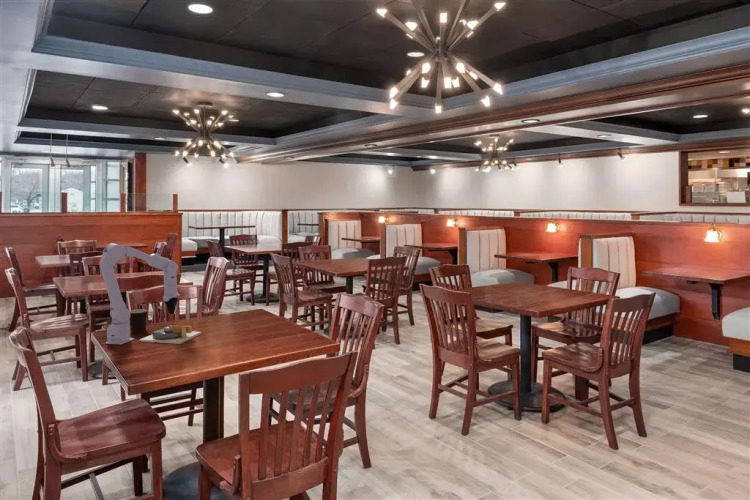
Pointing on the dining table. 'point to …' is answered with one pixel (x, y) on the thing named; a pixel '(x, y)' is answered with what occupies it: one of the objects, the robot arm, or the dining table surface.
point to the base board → (177, 340)
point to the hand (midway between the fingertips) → (171, 313)
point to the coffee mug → (138, 320)
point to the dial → (171, 332)
